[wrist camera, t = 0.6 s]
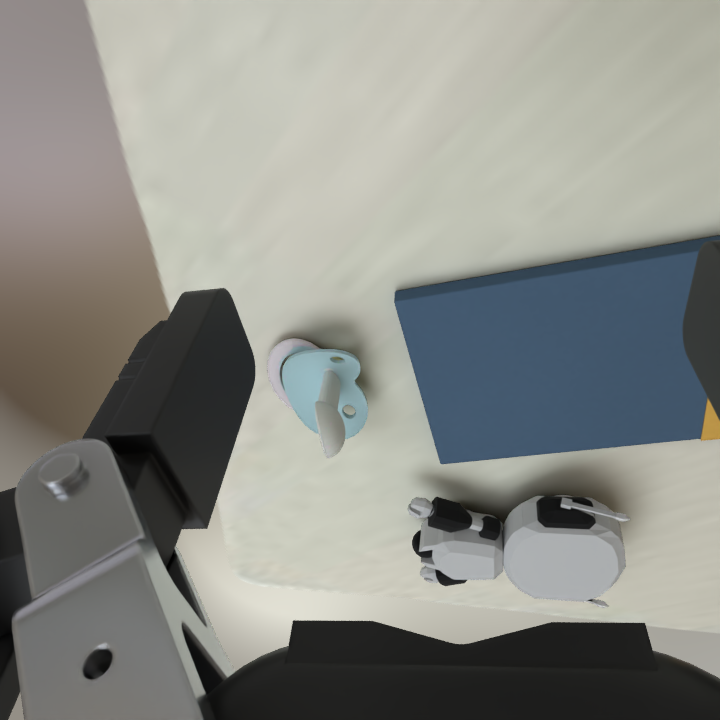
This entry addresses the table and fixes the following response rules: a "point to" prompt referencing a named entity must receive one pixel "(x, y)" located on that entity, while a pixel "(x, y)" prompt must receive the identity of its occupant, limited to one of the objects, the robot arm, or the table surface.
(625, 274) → the blue book
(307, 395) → the pacifier
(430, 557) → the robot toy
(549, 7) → the table surface
